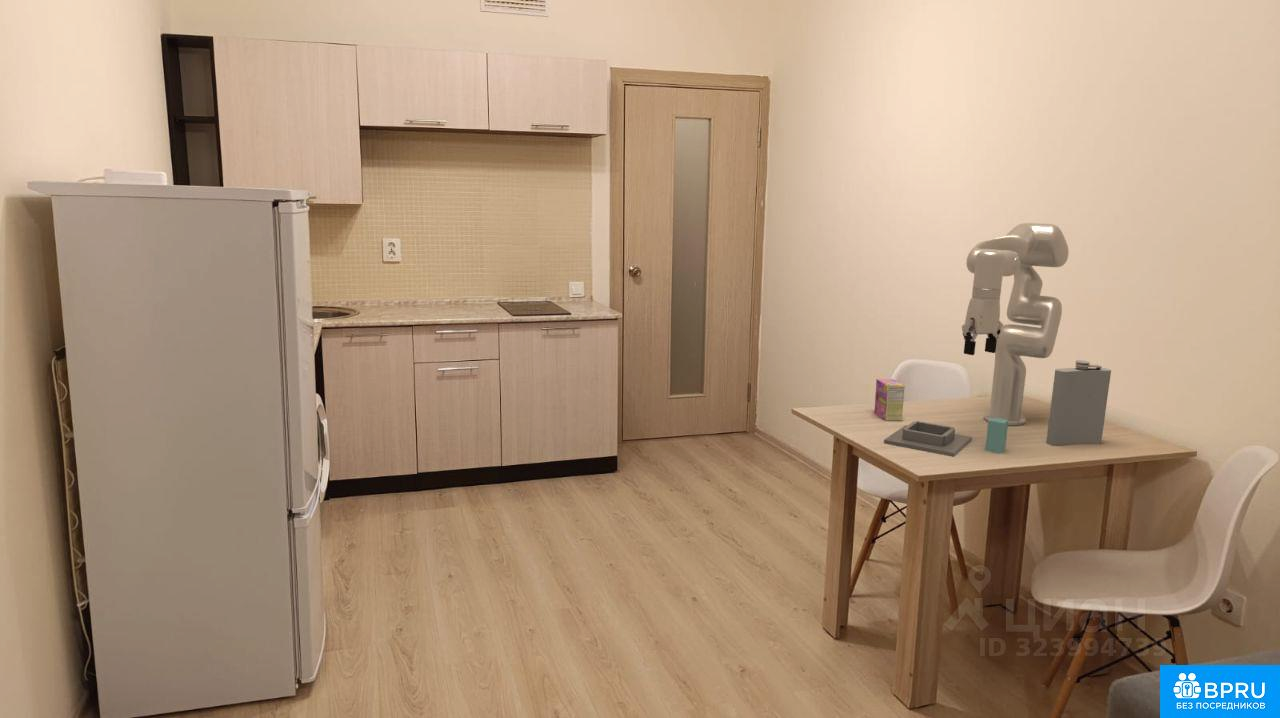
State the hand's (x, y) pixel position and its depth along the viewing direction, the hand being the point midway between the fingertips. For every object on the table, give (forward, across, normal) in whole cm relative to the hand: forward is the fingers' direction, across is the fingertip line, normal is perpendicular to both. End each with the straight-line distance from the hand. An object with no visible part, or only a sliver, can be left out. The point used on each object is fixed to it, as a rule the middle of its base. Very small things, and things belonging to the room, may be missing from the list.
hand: (979, 353), depth 243 cm
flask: (+27, -29, +14) cm, 42 cm away
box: (+27, -2, -33) cm, 43 cm away
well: (+27, +9, -8) cm, 30 cm away
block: (+27, -2, +8) cm, 28 cm away
